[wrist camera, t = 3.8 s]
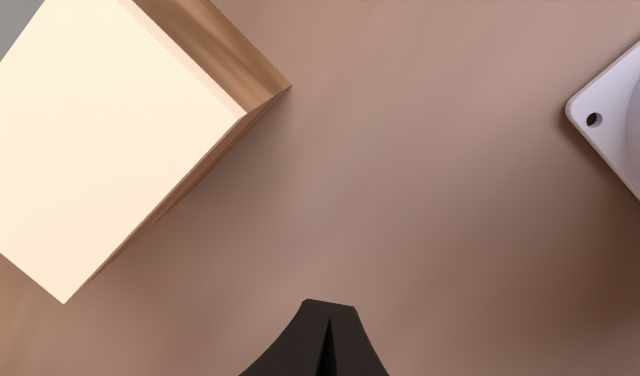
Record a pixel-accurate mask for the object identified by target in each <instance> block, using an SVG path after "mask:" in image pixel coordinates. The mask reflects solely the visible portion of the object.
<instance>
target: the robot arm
mask: <svg viewBox="0 0 640 376" xmlns="http://www.w3.org/2000/svg"><path fill="white" fill-rule="evenodd" d="M594 112H595V113H596V115H597V119H596V122H595V123H594V124H593V125H591V126H587V123H586V119H587V117H588V116H589V115H590V114H592V113H594ZM565 114H566V116H567V117H568V119H569V120H570V121H571V122H572V124H573V125H574V126H575V127H576V128H577V129H578V131H579V132H580V133H581V134H582V135H583V136H584V137H585V139H586V140H587V141H588V142H589V143H590V144H591V146H592V147H593V148H594V149H595V150H596V151H597V152H598V154H599V155H600V156H601V157H602V158H603V159H604V161H605V162H606V163H607V164H608V165H609V166H610V167H611V169H612V170H613V171H614V172H615V173H616V174H617V176H618V177H619V178H620V179H621V180H622V181H623V182H624V184H625V185H626V186H627V187H628V188H629V189H630V190H631V192H632V193H633V194H634V195H635V196H636V197H637V199H638V200H639V201H640V40H639V41H638V42H637V43H636V44H634V45H633V46H632V47H631V48H630V49H629V50H627V51H626V52H625V53H624V54H623V55H621V56H620V57H619V58H618V59H617V60H615V61H614V62H613V63H612V64H611V65H609V66H608V67H607V68H606V69H605V70H604V71H602V72H601V73H600V74H599V75H598V76H596V77H595V78H594V79H593V80H592V81H590V82H589V83H588V84H587V85H586V86H585V87H583V88H582V89H581V90H580V91H579V92H577V93H576V94H575V95H574V96H573V97H571V99H570V100H569V101H568V102H567V104H566V107H565ZM239 376H389V375H388V373H387V371H386V370H385V368H384V366H383V365H382V363H381V361H380V359H379V358H378V356H377V354H376V352H375V350H374V348H373V347H372V345H371V343H370V341H369V339H368V337H367V334H366V332H365V330H364V328H363V326H362V323H361V321H360V318H359V316H358V313H357V311H356V309H355V308H354V307H353V306H347V305H341V304H336V303H330V302H324V301H319V300H313V299H306V300H304V301H303V302H302V304H301V306H300V308H299V310H298V312H297V313H296V315H295V316H294V318H293V319H292V321H291V322H290V323H289V325H288V326H287V327H286V328H285V330H284V331H283V332H282V333H281V335H280V336H279V337H278V338H277V339H276V340H275V342H274V343H273V344H272V345H271V346H270V347H269V348H268V349H267V350H266V351H265V352H264V353H263V354H262V355H261V356H260V357H259V358H258V359H257V360H256V361H255V362H254V363H253V364H252V365H251V366H249V367H248V368H247V369H246V370H245V371H244V372H242V373H241V374H240V375H239Z"/></svg>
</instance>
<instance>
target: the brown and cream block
mask: <svg viewBox="0 0 640 376" xmlns="http://www.w3.org/2000/svg"><path fill="white" fill-rule="evenodd" d="M291 85H292V84H291V83H290V82H289V81H288V80H287V79H286V78H285V77H284V76H283V75H282V74H281V73H280V72H279V71H278V70H277V69H276V68H275V67H274V66H273V64H272V63H271V62H270V61H269V60H268V59H267V58H266V57H265V56H264V55H263V54H262V53H261V52H260V51H259V50H258V49H257V48H256V47H255V46H254V45H253V44H252V43H251V42H250V41H249V40H248V39H247V38H246V37H245V36H244V35H243V34H242V33H241V32H240V31H239V30H238V29H237V28H236V27H235V26H234V25H233V24H232V23H231V22H230V21H229V20H228V19H227V18H226V17H225V16H224V15H223V14H222V13H221V12H220V11H219V10H218V9H217V8H216V7H215V6H214V5H213V4H212V3H211V2H210V1H209V0H45V1H44V2H43V4H42V5H41V6H40V8H39V9H38V11H37V12H36V13H35V15H34V16H33V18H32V19H31V20H30V22H29V23H28V24H27V26H26V27H25V29H24V30H23V31H22V33H21V34H20V36H19V37H18V38H17V40H16V41H15V43H14V44H13V45H12V47H11V48H10V50H9V51H8V52H7V54H6V55H5V56H4V58H3V59H2V61H1V62H0V253H1V254H3V255H4V256H5V257H6V258H8V259H9V260H10V261H11V262H12V263H14V264H15V265H16V266H17V267H19V268H20V269H21V270H22V271H23V272H25V273H26V274H27V275H28V276H30V277H31V278H32V279H33V280H34V281H36V282H37V283H38V284H39V285H41V286H42V287H43V288H44V289H45V290H47V291H48V292H49V293H50V294H52V295H53V296H54V297H55V298H56V299H58V300H59V301H60V302H61V303H63V304H65V303H66V302H67V301H68V300H69V299H70V298H71V297H72V296H73V295H75V294H76V293H77V292H78V291H79V290H80V289H81V288H82V287H84V286H85V285H86V284H87V283H88V282H89V281H90V280H91V279H93V278H94V277H95V276H96V275H97V274H98V273H99V272H100V271H102V270H103V269H104V268H105V267H106V266H107V265H108V264H109V263H111V262H112V261H113V260H114V259H115V258H116V257H117V256H118V255H119V254H121V253H122V252H123V251H124V250H125V249H126V248H127V247H128V246H130V245H131V244H132V243H133V242H134V241H135V240H136V239H137V238H139V237H140V236H141V235H142V234H143V233H144V232H145V231H146V230H148V229H149V228H150V227H151V226H152V225H153V224H154V223H155V222H157V221H158V220H159V219H160V218H161V217H162V216H163V215H164V214H165V213H167V212H168V211H169V210H170V209H171V208H172V207H173V206H174V205H176V204H177V203H178V202H179V201H180V200H181V199H182V198H183V197H185V196H186V195H187V194H188V193H189V192H190V191H191V190H192V188H193V187H194V186H195V185H196V184H197V183H198V182H199V181H200V180H201V179H202V178H203V177H204V176H205V175H206V174H207V173H208V172H209V171H210V170H211V169H212V168H213V167H214V166H215V165H216V163H217V162H218V161H219V160H220V159H221V158H222V157H223V156H224V155H225V154H226V153H227V152H228V151H229V150H230V149H231V148H232V147H233V146H234V145H235V144H236V143H237V142H238V141H239V140H240V138H241V137H242V136H243V135H244V134H245V133H246V132H247V131H248V130H249V129H250V128H251V127H252V126H253V125H254V124H255V123H256V122H257V121H258V120H259V119H260V118H261V117H262V116H263V115H264V113H265V112H266V111H267V110H268V109H269V108H270V107H271V106H272V105H273V104H274V103H275V102H276V101H277V100H278V99H279V98H280V97H281V96H282V95H283V94H284V93H285V92H286V91H287V90H288V88H289V87H290V86H291Z"/></svg>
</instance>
